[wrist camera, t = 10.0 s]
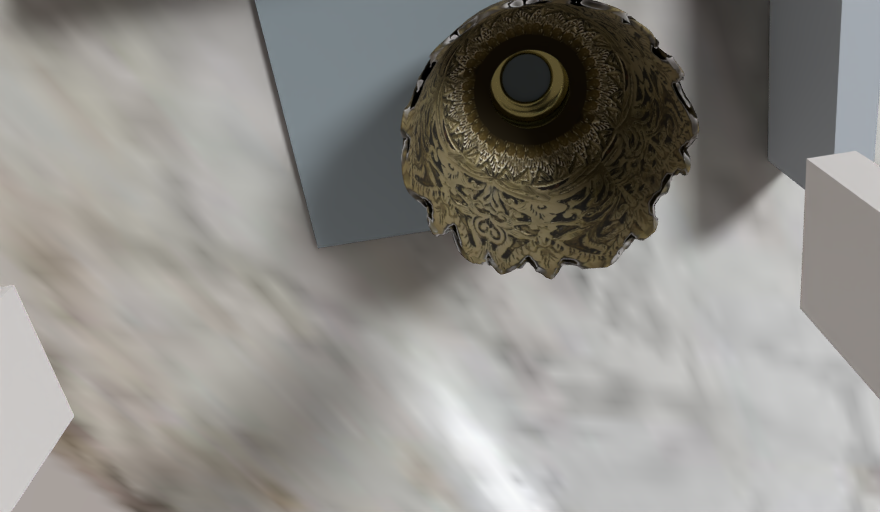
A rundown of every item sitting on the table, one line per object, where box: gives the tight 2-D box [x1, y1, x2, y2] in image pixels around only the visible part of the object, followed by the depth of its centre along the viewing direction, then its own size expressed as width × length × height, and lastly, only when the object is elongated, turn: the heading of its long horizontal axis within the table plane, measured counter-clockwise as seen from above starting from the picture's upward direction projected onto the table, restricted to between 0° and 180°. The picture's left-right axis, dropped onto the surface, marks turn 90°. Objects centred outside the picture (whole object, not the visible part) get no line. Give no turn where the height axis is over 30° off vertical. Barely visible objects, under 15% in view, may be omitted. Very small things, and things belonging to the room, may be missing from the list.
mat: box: [255, 0, 550, 248], centre depth 27 cm, size 10×10×1 cm
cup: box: [400, 0, 699, 279], centre depth 23 cm, size 8×7×8 cm
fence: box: [768, 0, 880, 189], centre depth 24 cm, size 13×23×5 cm, turn 99°
